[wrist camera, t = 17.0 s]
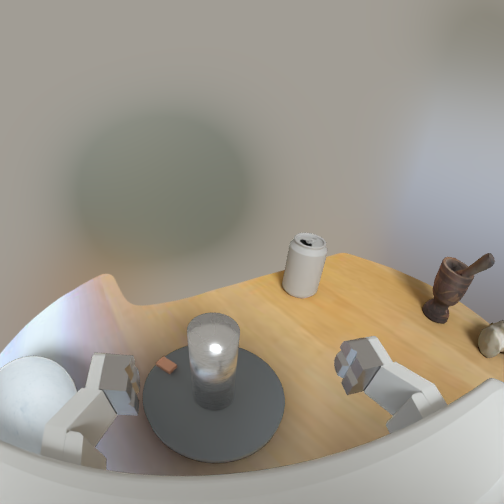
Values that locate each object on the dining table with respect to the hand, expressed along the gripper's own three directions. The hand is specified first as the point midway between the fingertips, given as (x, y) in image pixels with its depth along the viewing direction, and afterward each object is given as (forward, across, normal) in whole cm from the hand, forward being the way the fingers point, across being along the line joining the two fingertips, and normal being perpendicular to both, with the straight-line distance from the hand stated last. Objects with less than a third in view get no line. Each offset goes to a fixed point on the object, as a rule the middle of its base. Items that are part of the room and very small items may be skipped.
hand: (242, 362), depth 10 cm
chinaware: (+6, -23, -26) cm, 35 cm away
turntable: (+12, 0, -25) cm, 28 cm away
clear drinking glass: (+12, 0, -23) cm, 26 cm away
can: (+37, +20, -26) cm, 50 cm away
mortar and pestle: (+22, +52, -26) cm, 62 cm away
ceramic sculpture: (+8, +61, -26) cm, 67 cm away
